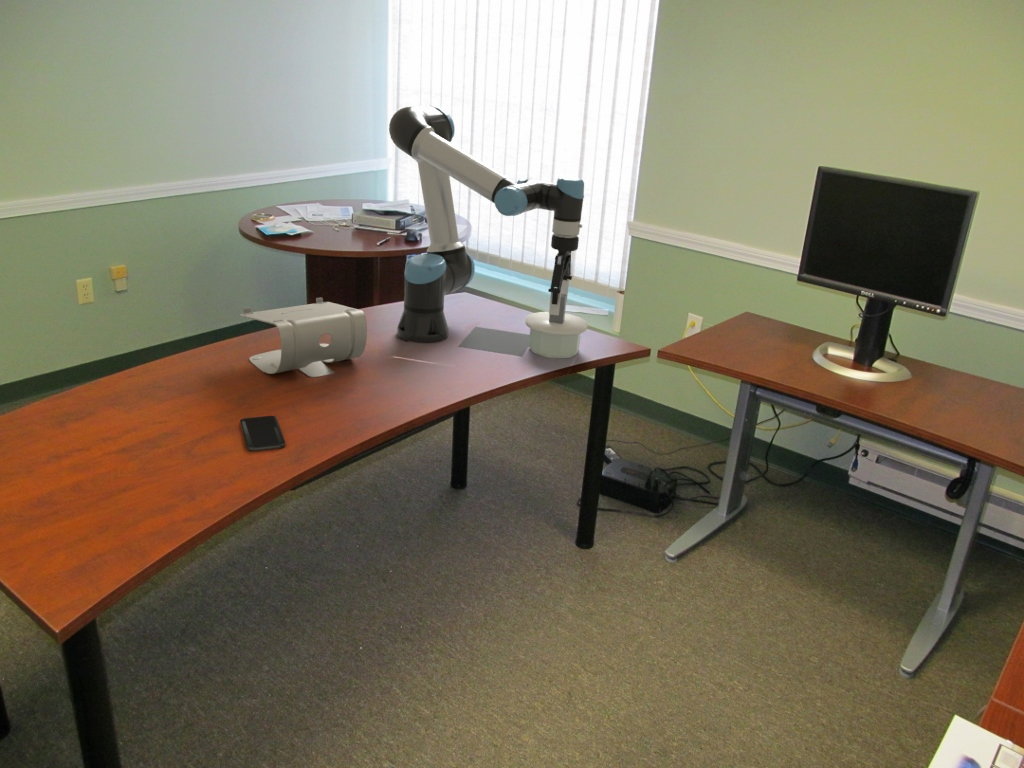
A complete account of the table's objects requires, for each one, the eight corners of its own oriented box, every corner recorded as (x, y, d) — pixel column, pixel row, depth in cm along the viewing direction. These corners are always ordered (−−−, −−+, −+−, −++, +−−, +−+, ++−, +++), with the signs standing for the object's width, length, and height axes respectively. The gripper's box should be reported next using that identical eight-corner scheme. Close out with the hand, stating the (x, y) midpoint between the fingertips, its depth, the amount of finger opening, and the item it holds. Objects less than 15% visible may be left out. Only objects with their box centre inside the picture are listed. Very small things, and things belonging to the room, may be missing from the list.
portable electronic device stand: (278, 387, 201) (276, 328, 195) (240, 356, 218) (237, 300, 212) (370, 368, 217) (370, 313, 211) (327, 341, 233) (327, 288, 227)
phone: (247, 449, 170) (239, 418, 182) (247, 453, 170) (239, 423, 183) (286, 444, 173) (276, 415, 185) (286, 449, 173) (276, 419, 186)
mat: (457, 347, 236) (457, 346, 236) (475, 327, 254) (475, 326, 253) (521, 357, 233) (521, 356, 233) (535, 336, 250) (535, 335, 250)
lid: (518, 334, 231) (521, 299, 227) (531, 316, 248) (534, 282, 243) (581, 344, 228) (585, 308, 224) (590, 324, 244) (594, 291, 240)
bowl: (525, 354, 235) (527, 328, 232) (535, 339, 248) (537, 314, 245) (573, 362, 233) (576, 335, 230) (580, 346, 245) (583, 321, 242)
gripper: (571, 245, 215) (563, 322, 223) (585, 227, 238) (577, 298, 246) (543, 242, 216) (536, 318, 225) (560, 224, 239) (553, 294, 247)
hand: (558, 307), depth 235 cm, fingers open, 13 cm apart
